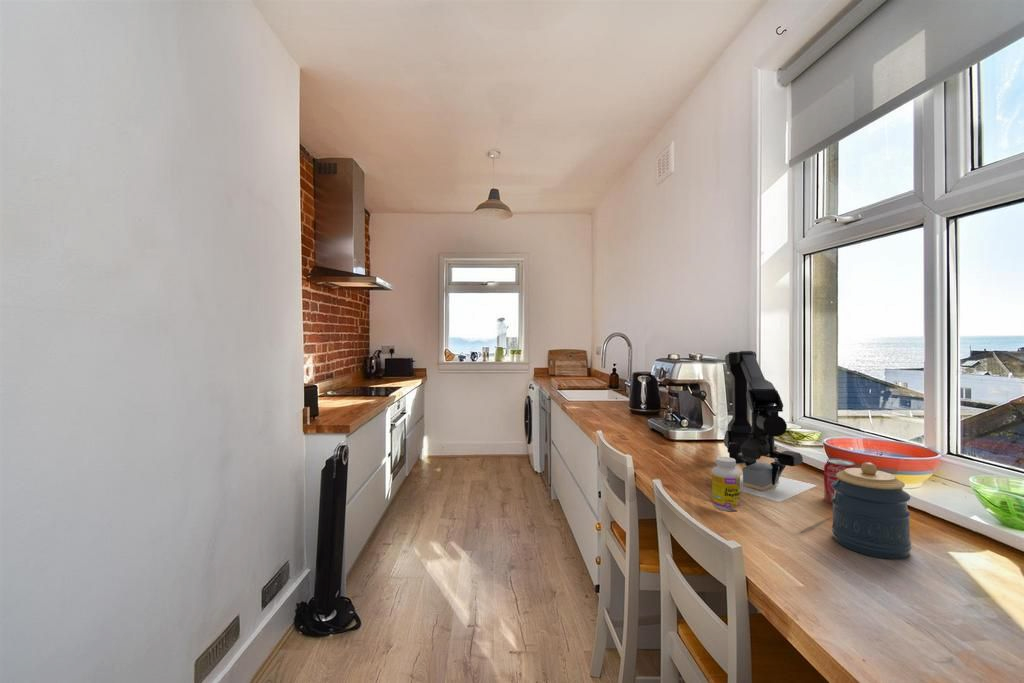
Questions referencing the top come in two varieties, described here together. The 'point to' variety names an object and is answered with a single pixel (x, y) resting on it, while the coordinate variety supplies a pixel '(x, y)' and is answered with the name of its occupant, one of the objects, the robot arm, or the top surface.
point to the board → (778, 489)
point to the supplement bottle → (725, 484)
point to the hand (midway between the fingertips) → (763, 482)
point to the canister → (871, 512)
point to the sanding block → (758, 476)
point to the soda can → (833, 475)
